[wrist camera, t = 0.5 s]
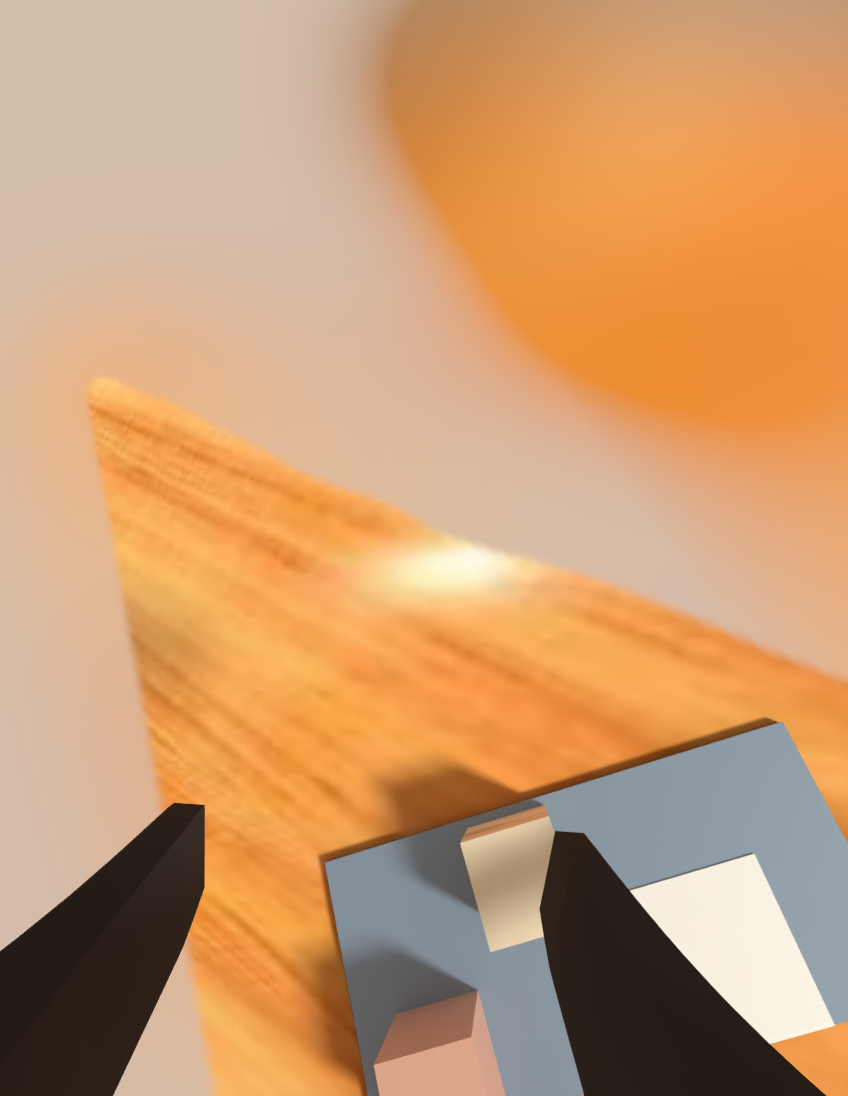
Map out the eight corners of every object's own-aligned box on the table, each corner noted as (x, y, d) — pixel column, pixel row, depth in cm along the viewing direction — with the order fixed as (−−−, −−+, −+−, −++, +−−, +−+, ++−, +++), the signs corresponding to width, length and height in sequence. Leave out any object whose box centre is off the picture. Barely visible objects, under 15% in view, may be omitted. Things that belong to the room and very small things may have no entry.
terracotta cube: (507, 1102, 28) (506, 1175, 23) (419, 1127, 28) (400, 1204, 23) (477, 990, 30) (471, 1037, 25) (395, 1014, 30) (373, 1065, 25)
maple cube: (574, 895, 30) (585, 924, 26) (493, 919, 31) (490, 952, 26) (543, 804, 32) (548, 816, 28) (467, 828, 32) (460, 843, 28)
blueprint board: (921, 992, 27) (931, 999, 26) (380, 1143, 28) (377, 1152, 28) (777, 722, 32) (783, 721, 32) (327, 860, 34) (324, 863, 33)
